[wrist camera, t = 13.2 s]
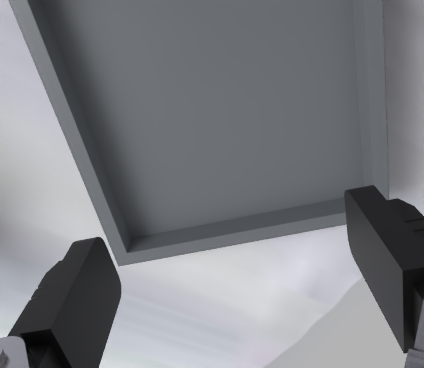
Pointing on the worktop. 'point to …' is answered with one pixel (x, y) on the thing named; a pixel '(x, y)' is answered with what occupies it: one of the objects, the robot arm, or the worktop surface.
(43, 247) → the worktop surface
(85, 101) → the tray
